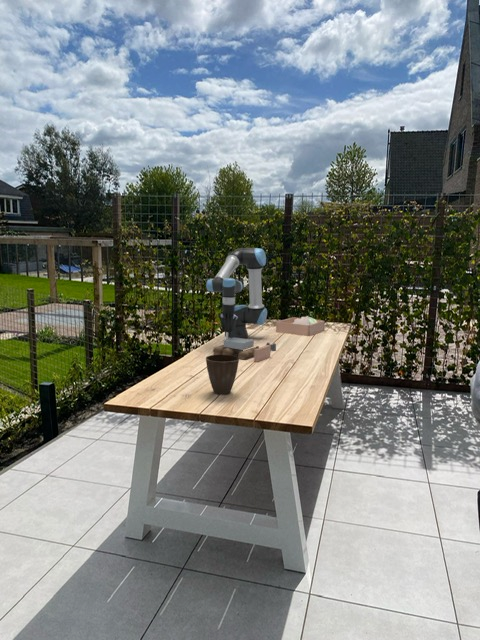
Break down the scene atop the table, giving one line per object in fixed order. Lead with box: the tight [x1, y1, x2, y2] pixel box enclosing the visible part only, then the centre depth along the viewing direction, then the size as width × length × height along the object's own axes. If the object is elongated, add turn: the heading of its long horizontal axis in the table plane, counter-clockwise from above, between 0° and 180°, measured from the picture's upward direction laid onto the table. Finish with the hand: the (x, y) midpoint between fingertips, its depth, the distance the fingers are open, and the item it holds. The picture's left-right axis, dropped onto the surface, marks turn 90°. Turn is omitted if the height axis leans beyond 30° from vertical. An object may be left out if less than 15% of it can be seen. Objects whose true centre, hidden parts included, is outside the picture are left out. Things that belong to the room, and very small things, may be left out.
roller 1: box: [212, 344, 227, 355], centre depth 302 cm, size 16×5×5 cm, turn 149°
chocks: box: [212, 353, 254, 361], centre depth 298 cm, size 16×23×1 cm
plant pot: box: [205, 354, 240, 396], centre depth 221 cm, size 15×15×16 cm
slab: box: [222, 337, 255, 351], centre depth 296 cm, size 12×14×4 cm
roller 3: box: [237, 346, 258, 361], centre depth 293 cm, size 16×5×5 cm, turn 149°
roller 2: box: [222, 348, 244, 356], centre depth 299 cm, size 16×5×5 cm, turn 149°
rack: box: [255, 342, 277, 352], centre depth 307 cm, size 16×6×4 cm, turn 149°
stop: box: [253, 345, 271, 363], centre depth 288 cm, size 16×2×7 cm, turn 149°
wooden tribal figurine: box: [293, 315, 317, 325], centre depth 386 cm, size 14×14×24 cm
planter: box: [275, 316, 326, 337], centre depth 384 cm, size 30×27×8 cm
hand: (227, 342), depth 300 cm, fingers closed
